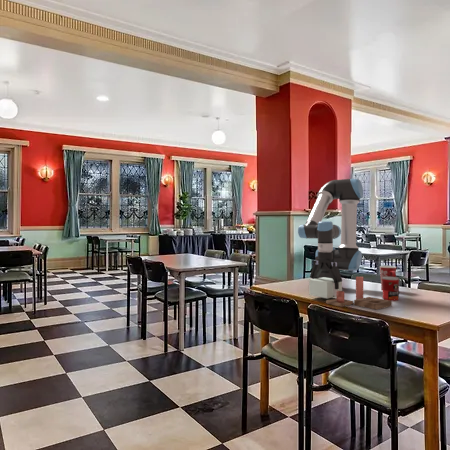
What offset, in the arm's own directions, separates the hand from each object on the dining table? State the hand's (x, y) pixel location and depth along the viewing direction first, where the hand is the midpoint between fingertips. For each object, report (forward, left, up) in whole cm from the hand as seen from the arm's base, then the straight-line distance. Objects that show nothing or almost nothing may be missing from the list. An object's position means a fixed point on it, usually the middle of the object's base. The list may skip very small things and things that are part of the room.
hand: (325, 293), depth 204 cm
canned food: (+21, +25, -3) cm, 33 cm away
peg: (+14, +9, -3) cm, 17 cm away
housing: (0, 0, -1) cm, 1 cm away
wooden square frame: (+24, +5, -3) cm, 25 cm away
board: (+12, -4, -3) cm, 13 cm away
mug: (+8, +45, -3) cm, 46 cm away
